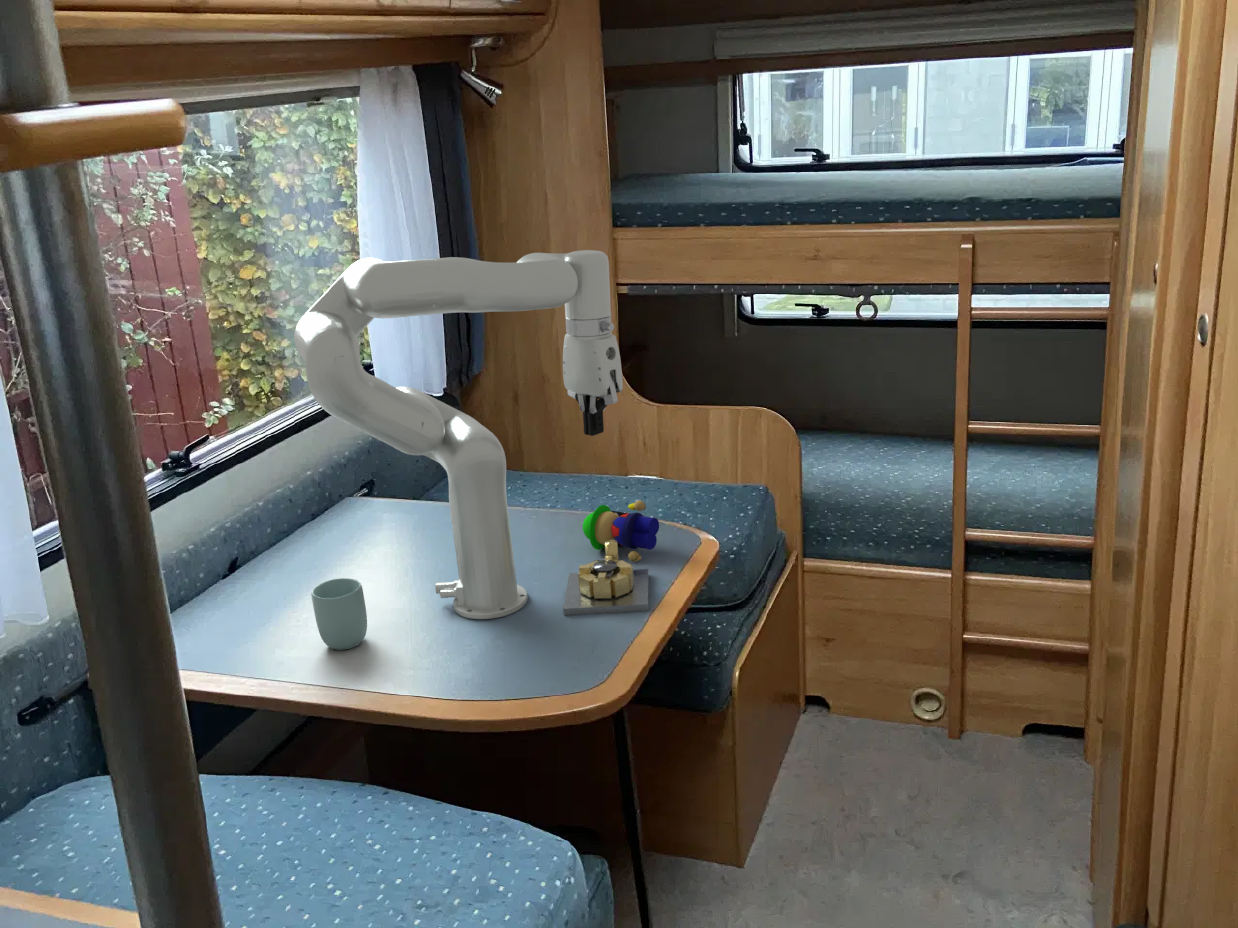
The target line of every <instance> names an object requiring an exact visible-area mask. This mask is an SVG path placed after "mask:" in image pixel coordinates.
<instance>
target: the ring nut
mask: <svg viewBox="0 0 1238 928" xmlns="http://www.w3.org/2000/svg"><path fill="white" fill-rule="evenodd" d="M604 550H605V556H604V559H603V560H613V561H615V562H616V563H617V569H616V570H614V575H613V576H610V577H607V575H606V573H599V575H598V574H597V572H596V571H594V569H593V565H594V563H596V562H598V561H596V560H593V561H592V562H589V563H586V564H580V565H579V567H578V572H577V573H578V580H579V590H580V592H581V593H583V594H585V595H586V596H588V597H590V598H591V597H593V596H594V598H612V596H614V597H618V596H621V595H623V594H626V593H628V592H630V590H632V588H633V585H634V575H633V570H634V567H633V565H632V564H630V563H628V562H626V561H624V560H619V559H620V558H619V557H620V556H619V546H618V544H617V541H616V540H607V541H606V542H605V547H604Z"/></svg>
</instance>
